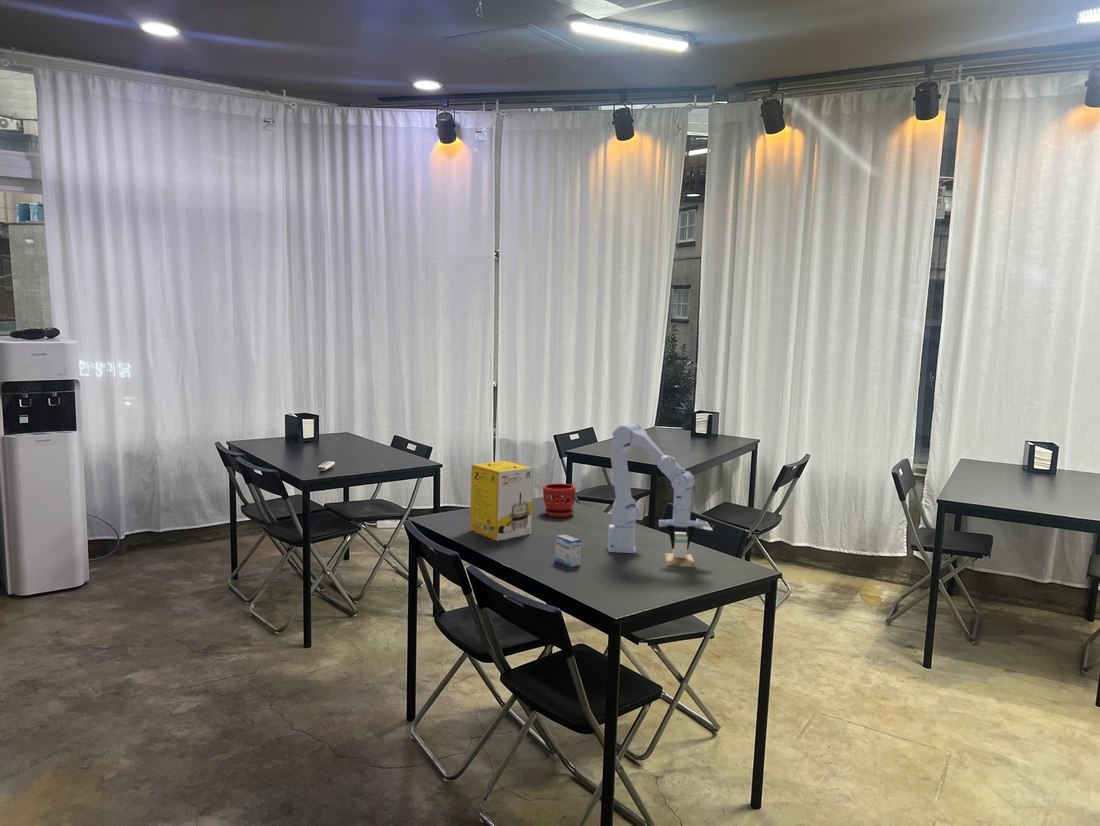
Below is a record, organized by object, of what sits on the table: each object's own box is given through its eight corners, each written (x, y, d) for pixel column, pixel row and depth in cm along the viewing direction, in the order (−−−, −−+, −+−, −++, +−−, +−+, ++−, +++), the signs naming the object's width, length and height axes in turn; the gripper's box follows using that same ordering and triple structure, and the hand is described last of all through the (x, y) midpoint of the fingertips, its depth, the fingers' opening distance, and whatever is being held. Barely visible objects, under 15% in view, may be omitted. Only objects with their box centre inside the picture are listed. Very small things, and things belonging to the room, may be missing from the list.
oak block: (666, 567, 261) (667, 561, 261) (664, 558, 270) (664, 553, 270) (694, 568, 261) (694, 562, 261) (690, 560, 270) (691, 554, 269)
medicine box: (554, 561, 262) (555, 535, 261) (564, 559, 265) (565, 533, 264) (570, 567, 256) (571, 541, 255) (580, 565, 259) (581, 539, 258)
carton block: (674, 557, 262) (675, 536, 261) (672, 551, 268) (673, 531, 267) (686, 557, 262) (687, 537, 261) (684, 552, 268) (685, 532, 267)
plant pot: (575, 511, 330) (577, 483, 328) (572, 519, 317) (573, 490, 315) (544, 509, 331) (545, 481, 330) (540, 517, 319) (541, 488, 317)
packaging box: (504, 524, 306) (505, 460, 303) (531, 534, 294) (533, 467, 291) (469, 531, 295) (471, 464, 292) (496, 541, 283) (498, 472, 280)
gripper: (660, 510, 260) (658, 550, 261) (705, 512, 259) (703, 552, 260) (659, 505, 267) (657, 544, 268) (702, 507, 266) (700, 546, 267)
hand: (679, 548), depth 265 cm, fingers closed on carton block, 4 cm apart
